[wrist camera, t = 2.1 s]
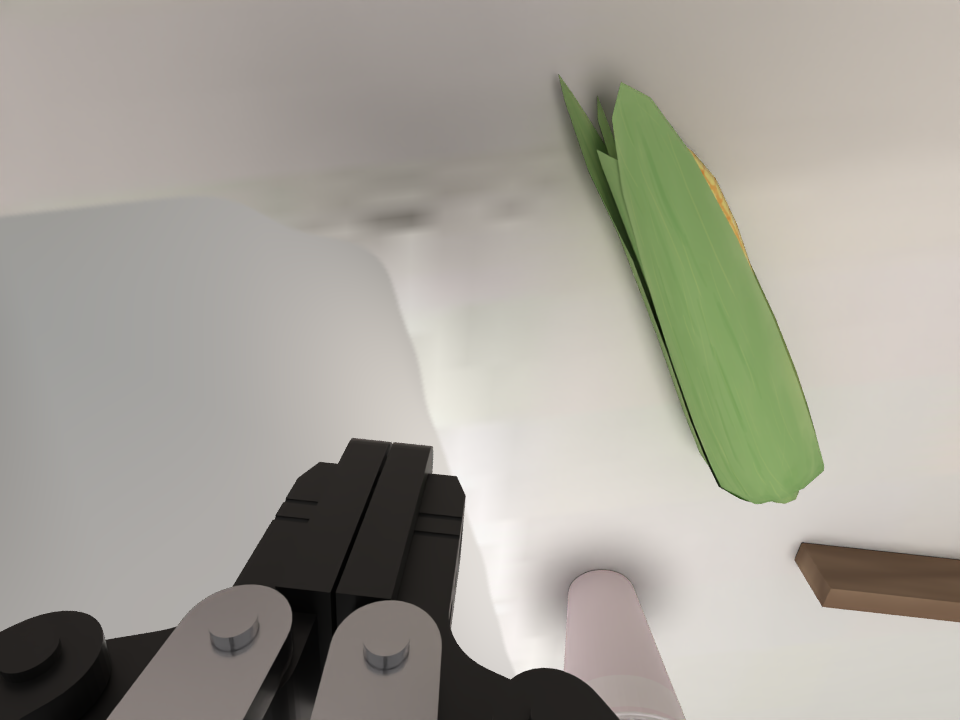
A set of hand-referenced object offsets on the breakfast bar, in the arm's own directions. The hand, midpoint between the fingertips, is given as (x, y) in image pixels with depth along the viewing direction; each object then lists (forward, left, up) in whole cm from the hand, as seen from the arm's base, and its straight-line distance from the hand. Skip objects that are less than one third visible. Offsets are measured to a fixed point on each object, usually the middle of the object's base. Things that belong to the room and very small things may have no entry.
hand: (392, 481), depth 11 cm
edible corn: (0, +10, -15) cm, 18 cm away
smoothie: (+18, +9, -15) cm, 25 cm away
